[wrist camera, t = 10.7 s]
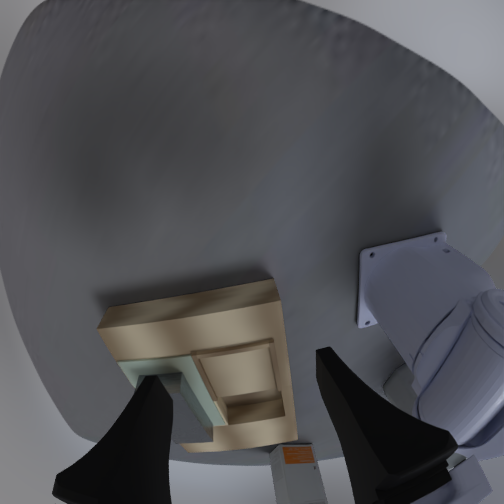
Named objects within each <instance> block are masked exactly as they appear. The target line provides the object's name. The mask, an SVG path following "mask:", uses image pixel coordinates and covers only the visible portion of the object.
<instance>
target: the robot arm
mask: <svg viewBox="0 0 504 504" xmlns="http://www.w3.org/2000/svg"><path fill="white" fill-rule="evenodd" d="M434 239H435V240H434ZM372 252H373V254H372V256H370V254H371V253H372ZM367 321H368V322H367ZM377 323H379V325H380V326H381V328H382V329H383V330H384V332H385V333H386V335H387V336H388V338H389V339H390V341H391V342H392V343H393V345H394V346H395V348H396V349H397V351H398V352H399V354H400V355H401V357H402V358H403V360H404V361H405V363H406V364H407V366H408V367H409V369H410V370H411V372H412V373H413V375H414V381H413V383H412V385H411V386H412V388H413V389H414V391H415V393H416V394H417V398H416V400H415V402H414V404H413V409H412V415H410V414H408V413H406V412H404V411H402V410H400V409H399V408H397V407H396V406H394V405H393V404H391V403H390V402H388V401H387V400H385V399H384V398H382V397H381V396H380V395H378V394H377V393H376V392H375V391H373V390H372V389H371V388H370V387H369V386H368V385H366V384H365V383H364V382H363V381H362V380H361V379H360V378H359V377H358V376H357V375H356V374H355V373H354V372H353V371H352V370H351V369H350V368H349V367H348V366H347V365H346V364H345V363H344V362H343V361H342V360H341V359H340V358H339V356H338V355H337V354H336V353H335V352H334V350H333V349H332V348H331V347H325V348H322V349H318V350H316V378H317V382H318V386H319V389H320V392H321V396H322V399H323V401H324V403H325V406H326V408H327V411H328V413H329V415H330V418H331V420H332V423H333V425H334V427H335V430H336V432H337V435H338V437H339V440H340V443H341V447H342V450H343V454H344V457H345V461H346V465H347V469H348V473H349V477H350V481H351V486H352V490H353V495H354V500H355V504H478V503H480V502H481V501H482V500H483V499H485V498H486V497H487V496H488V495H490V494H491V493H492V491H493V490H492V488H491V486H490V484H489V482H488V480H487V478H486V476H485V474H484V472H483V470H482V468H481V466H480V464H479V462H478V461H482V460H488V459H492V458H496V457H500V456H504V290H501V289H496V288H495V285H494V283H493V280H492V279H491V277H490V275H489V274H488V273H487V272H486V271H485V270H484V269H483V268H482V267H480V266H479V265H478V264H476V263H475V262H473V261H472V260H471V259H469V258H468V257H466V256H465V255H463V254H462V253H460V252H459V251H457V250H456V249H454V248H453V247H451V246H450V245H448V244H447V243H446V233H444V232H442V231H441V232H437V233H433V234H429V235H425V236H420V237H416V238H412V239H407V240H403V241H399V242H394V243H390V244H385V245H381V246H376V247H372V248H367V249H364V250H362V251H361V253H360V270H359V297H358V314H357V326H358V327H359V328H364V327H368V326H371V325H374V324H377ZM172 426H173V399H172V398H171V396H170V395H169V393H168V392H167V390H166V388H165V387H164V385H163V384H162V382H161V380H160V379H159V377H158V376H157V375H152V376H145V378H144V379H143V381H142V382H141V384H140V385H139V387H138V389H137V390H136V392H135V393H134V395H133V397H132V398H131V400H130V401H129V403H128V404H127V406H126V407H125V409H124V410H123V412H122V413H121V415H120V416H119V418H118V419H117V420H116V422H115V423H114V424H113V426H112V427H111V428H110V430H109V431H108V432H107V433H106V434H105V436H104V437H103V438H102V439H101V440H100V441H99V442H98V443H97V444H96V445H95V446H94V447H93V448H92V449H91V450H90V451H89V452H88V453H87V454H86V455H84V456H83V457H82V458H81V459H79V460H78V461H77V462H76V463H74V464H73V465H71V466H70V467H68V468H67V469H65V470H64V471H62V472H60V473H58V474H57V475H56V479H55V483H54V487H53V491H52V494H53V496H54V497H56V498H58V499H59V500H61V501H63V502H65V503H67V504H172V503H171V496H170V486H169V452H170V443H171V434H172ZM453 453H458V454H461V455H463V456H465V457H467V458H468V459H466V460H465V461H464V462H462V463H461V464H459V465H458V466H456V467H455V468H453V469H452V470H450V471H449V472H448V470H447V467H448V466H449V464H448V462H447V459H448V458H449V457H450V456H451V455H452V454H453Z"/></svg>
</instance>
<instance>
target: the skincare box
mask: <svg viewBox="0 0 504 504" xmlns="http://www.w3.org/2000/svg"><path fill="white" fill-rule="evenodd" d="M269 457H270V463H271V470H272V476H273V482H274V489H275V496H276V502H277V504H328V502H327V498H326V494H325V490H324V486H323V482H322V478H321V474H320V470H319V467H318V462H317V458H316V455H315V451H314V447H313V444H309V445H283V444H279V445H278V446H277V447H276V448H275V449H274V450H273V451H272V452H271V453H270V454H269Z"/></svg>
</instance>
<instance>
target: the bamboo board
mask: <svg viewBox="0 0 504 504" xmlns="http://www.w3.org/2000/svg"><path fill="white" fill-rule="evenodd" d="M97 331H98V332H99V334H100V336H101V338H102V339H103V341H104V343H105V344H106V346H107V348H108V349H109V351H110V352H111V354H112V356H113V357H114V359H115V360H116V362H117V363H118V365H119V367H120V368H121V370H122V371H123V373H124V374H125V375H126V377H127V378H128V380H129V381H130V383H131V384H132V385H133V387H134V388H136V384H137V380H138V377H139V375H152V374H165V373H175V372H183V374H184V376H185V378H186V380H187V381H188V383H189V385H190V387H191V389H192V390H193V392H194V394H195V395H196V397H197V399H198V401H199V402H200V404H201V406H202V407H203V409H204V411H205V412H206V414H207V415H208V417H209V419H210V420H211V422H212V423H213V442H205V443H181V446H182V447H183V448H184V449H185V450H186V451H187V452H188V453H190V452H213V451H226V450H237V449H245V448H253V447H260V446H267V445H273V444H278V443H283V442H289V441H293V440H298V436H297V426H296V417H295V408H294V400H293V391H292V383H291V375H290V367H289V359H288V351H287V343H286V335H285V328H284V320H283V313H282V306H281V300H280V297H279V293H278V290H277V287H276V284H275V281H274V278H273V279H268V280H263V281H258V282H253V283H247V284H242V285H237V286H232V287H226V288H221V289H215V290H210V291H204V292H199V293H193V294H187V295H182V296H176V297H170V298H164V299H158V300H152V301H145V302H139V303H133V304H126V305H119V306H113V307H108V309H107V311H106V313H105V315H104V316H103V318H102V320H101V322H100V324H99V325H98V327H97Z"/></svg>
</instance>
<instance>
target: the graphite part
mask: <svg viewBox="0 0 504 504" xmlns="http://www.w3.org/2000/svg"><path fill="white" fill-rule="evenodd" d="M152 375H157V376H158V377H159V379H160V380H161V382H162V384H163V385H164V387H165V388H166V390H167V392H168V393H169V395H170V396H171V398H172V399H173V426H172V434H171V439H172V440H173V441H174V442H175V443H176V444H181V443H205V442H213V423H212V422H211V420H210V419H209V417H208V415H207V414H206V412H205V411H204V409H203V407H202V406H201V404H200V402H199V401H198V399H197V397H196V395H195V394H194V392H193V390H192V389H191V387H190V385H189V383H188V381H187V380H186V378H185V376H184V374H183V372H175V373H165V374H152ZM152 375H139V377H138V380H137V384H136V388H135V392H136V390H137V389H138V387H139V385H140V384H141V382H142V381H143V379H144V378H145V376H152ZM135 392H134V393H135Z"/></svg>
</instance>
